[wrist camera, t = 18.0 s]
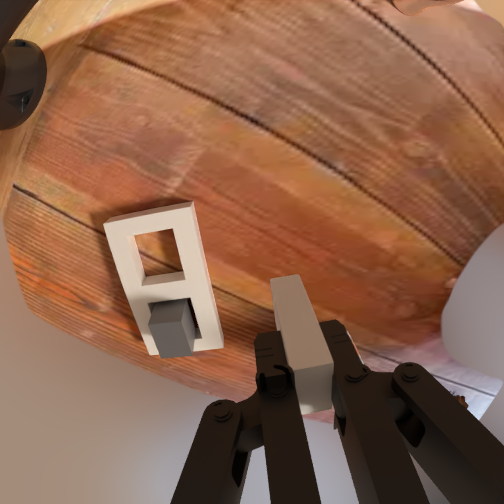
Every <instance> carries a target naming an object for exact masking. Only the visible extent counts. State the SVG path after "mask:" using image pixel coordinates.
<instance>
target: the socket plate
mask: <svg viewBox="0 0 504 504" xmlns="http://www.w3.org/2000/svg"><path fill="white" fill-rule="evenodd" d="M103 226H104V229H105V232H106V236H107V239H108V242H109V246H110V249H111V252H112V255H113V258H114V261H115V264H116V267H117V270H118V273H119V276H120V279H121V282H122V285H123V288H124V291H125V293H126V296H127V299H128V302H129V304H130V307H131V309H132V312H133V315H134V317H135V320H136V322H137V325H138V327H139V330H140V332H141V335H142V337H143V340H144V342H145V344H146V347H147V349H148V351H149V354H150V355H158V354H159V352H158V350H157V347H156V345H155V342H154V340H153V337H152V335H151V332H150V329H149V327H148V323H149V320H150V317H151V314H152V311H153V308H154V306H155V303H154V302H159V301H167V300H175V299H182V298H190V297H191V301H192V304H193V308H194V311H195V315H196V318H197V322H198V325H199V328H196V334H195V341H194V349H193V351H200V350H209V349H218V348H224V336H223V332H222V328H221V324H220V320H219V315H218V311H217V307H216V303H215V299H214V294H213V290H212V286H211V282H210V277H209V273H208V268H207V264H206V259H205V255H204V250H203V246H202V241H201V236H200V232H199V227H198V222H197V217H196V213H195V208H194V203H193V201H191V202H185V203H180V204H174V205H169V206H164V207H158V208H153V209H148V210H143V211H138V212H133V213H129V214H124V215H119V216H114V217H110V218H109V219H108V220H107V221H106V222H105V223H104V224H103ZM171 228H173V231H174V235H175V239H176V243H177V247H178V251H179V255H180V259H181V263H182V267H183V271H182V272H175V273H168V274H161V275H155V276H148V277H146V275H145V272H144V269H143V266H142V262H141V259H140V256H139V252H138V249H137V245H136V242H135V238H134V235H138V234H143V233H149V232H154V231H160V230H166V229H171Z"/></svg>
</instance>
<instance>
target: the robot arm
mask: <svg viewBox="0 0 504 504" xmlns="http://www.w3.org/2000/svg"><path fill="white" fill-rule="evenodd" d="M37 2H38V0H0V131H1V130H7V129H12V128H15V127H17V126H19V125H20V124H22V123H23V122H24V121H26V120H27V119H28V118H29V116H30V115H31V114H32V113H33V111H34V110H35V108H36V107H37V105H38V103H39V101H40V99H41V96H42V94H43V91H44V87H45V83H46V75H47V67H46V60H45V57H44V54H43V52H42V50H41V49H40V47H39V46H38V45H36V44H35V43H33V42H31V41H27V40H23V39H13V40H9V39H10V38H11V36H12V35H13V33H14V32H15V30H16V29H17V28H18V26H19V25H20V24H21V22H22V21H23V19H24V18H25V17H26V16H27V14H28V13H29V12H30V10H31V9H32V8H33V7H34V5H35V4H36V3H37ZM270 283H271V291H272V299H273V307H274V314H275V322H276V327H277V331H272V332H266V333H260V334H258V335H257V337H256V339H255V341H254V347H255V356H256V366H257V373H256V378H255V379H256V384H257V390H256V392H255V393H254V394H253V395H252V396H251V397H249V398H248V399H246V400H243V401H241V402H238V403H235V402H234V401H231V400H227V399H225V400H218V401H215V402H213V403H211V404H210V405H209V406H207V408H206V409H205V411H204V413H203V416H202V418H201V421H200V424H199V427H198V429H197V432H196V435H195V438H194V441H193V443H192V446H191V449H190V452H189V454H188V457H187V460H186V462H185V465H184V468H183V471H182V473H181V476H180V479H179V481H178V484H177V487H176V490H175V492H174V495H173V498H172V500H171V503H170V504H240V499H241V496H242V491H243V487H244V483H245V479H246V475H247V470H248V466H249V462H250V457H251V452H252V450H254V449H256V448H259V447H261V446H263V445H264V447H265V457H266V465H267V474H268V483H269V491H270V500H271V504H321V500H320V495H319V491H318V487H317V482H316V477H315V472H314V468H313V463H312V459H311V454H310V450H309V446H308V441H307V436H306V432H305V427H304V423H303V418H302V415H303V414H308V413H313V412H318V411H323V410H328V409H332V403H333V406H334V409H335V415H334V429H336V428H337V429H338V432H339V435H340V439H341V442H342V445H343V449H344V452H345V455H346V459H347V462H348V466H349V469H350V473H351V476H352V480H353V483H354V486H355V490H356V494H357V497H358V501H359V504H430V503H429V501H428V498H427V496H426V493H425V490H424V488H423V486H422V483H421V481H420V478H419V476H418V474H417V471H416V469H415V466H414V464H413V461H412V459H411V457H410V454H411V455H412V456H413V458H414V459H415V460H416V461H417V462H418V464H419V465H420V466H421V468H422V469H423V470H424V471H425V472H426V474H427V475H428V476H429V477H430V479H431V480H432V481H433V482H434V484H435V485H436V486H437V487H438V489H439V490H440V491H441V492H442V493H443V495H444V496H445V497H446V498H447V500H448V501H449V502H450V503H451V504H504V446H503V444H502V443H501V442H500V441H499V440H498V439H497V438H496V437H495V436H493V434H491V433H490V431H489V430H488V429H486V427H484V426H483V424H481V422H480V421H479V420H478V419H477V418H475V417H474V416H473V415H472V414H471V413H470V412H469V411H468V410H467V409H466V408H465V407H464V406H463V405H462V404H461V403H460V402H459V401H458V400H457V399H456V398H455V397H454V396H453V395H452V394H451V393H450V392H449V391H448V390H447V389H446V388H445V387H444V386H442V385H441V384H440V383H439V382H438V381H437V380H436V379H435V378H434V377H433V376H432V375H431V374H430V373H429V372H428V371H427V370H426V369H425V368H423V367H422V366H421V365H419V364H416V363H413V362H406V363H403V364H400V365H399V366H397V367H396V368H395V370H394V372H375V371H371V370H370V369H369V367H367V366H366V365H364V364H362V362H361V360H360V358H359V356H358V354H357V352H356V350H355V347H354V345H353V343H352V341H351V340H350V337H349V335H348V334H347V331H346V329H345V327H344V325H343V324H341V323H340V322H339V321H337V320H330V321H325V322H320V323H318V320H317V318H316V315H315V313H314V310H313V308H312V305H311V303H310V300H309V298H308V295H307V293H306V290H305V288H304V285H303V283H302V281H301V278H300V276H299V274H297V275H290V276H284V277H278V278H272V279H270ZM408 451H409V452H408ZM409 453H410V454H409Z"/></svg>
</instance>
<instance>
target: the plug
mask: <svg viewBox="0 0 504 504" xmlns="http://www.w3.org/2000/svg"><path fill="white" fill-rule="evenodd" d="M148 327H149V329H150V332H151V335H152V337H153V340H154V342H155V345H156V347H157V350H158V352H159V355H160V357H161V358H173V357H184V356H193V349H194V341H195V334H196V328H195V324H194V321H193V317H192V314H191V310H190V307H189V303H188V300H187V298H182V299H175V300H167V301H159V302H156V303H155V306H154V308H153V311H152V314H151V317H150V320H149V323H148Z"/></svg>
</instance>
